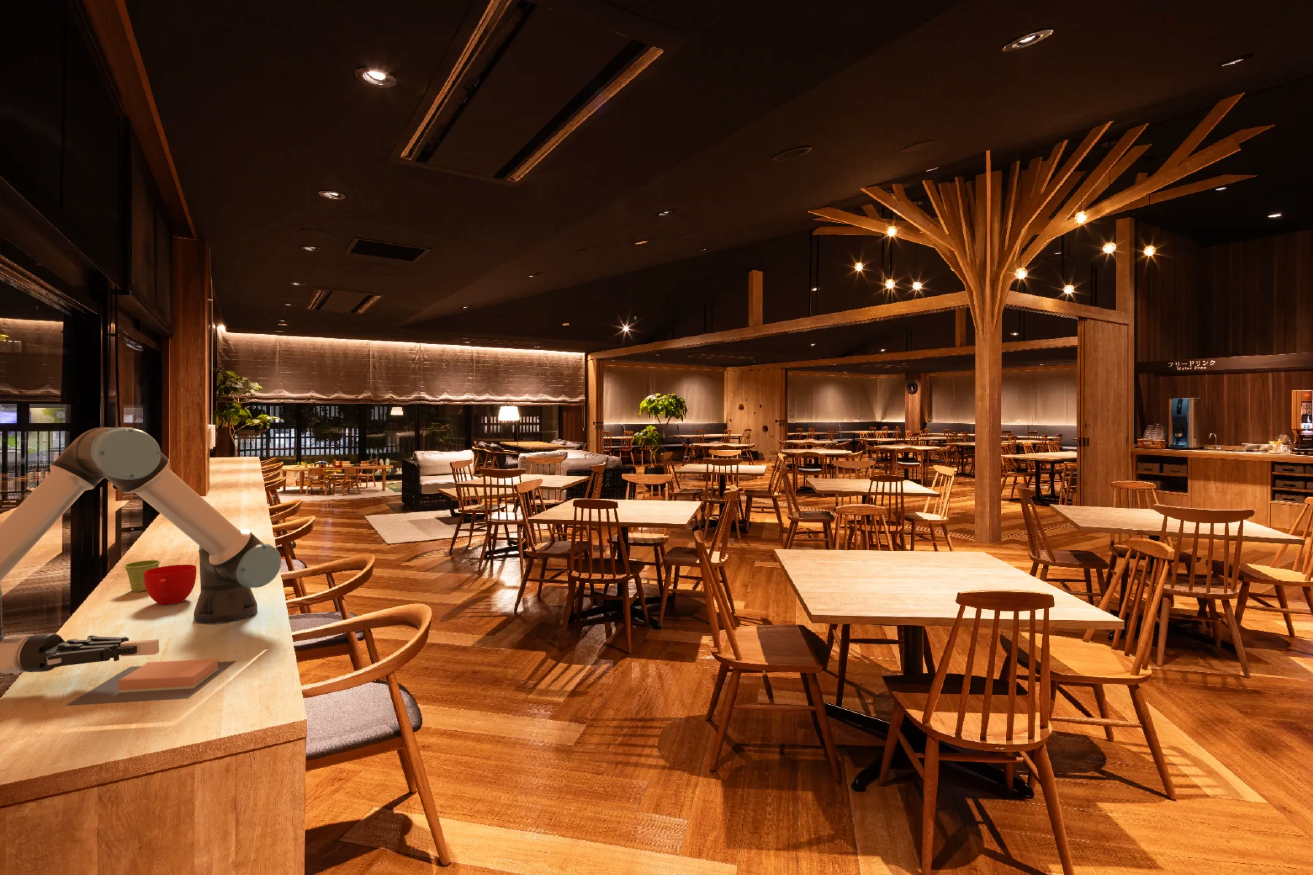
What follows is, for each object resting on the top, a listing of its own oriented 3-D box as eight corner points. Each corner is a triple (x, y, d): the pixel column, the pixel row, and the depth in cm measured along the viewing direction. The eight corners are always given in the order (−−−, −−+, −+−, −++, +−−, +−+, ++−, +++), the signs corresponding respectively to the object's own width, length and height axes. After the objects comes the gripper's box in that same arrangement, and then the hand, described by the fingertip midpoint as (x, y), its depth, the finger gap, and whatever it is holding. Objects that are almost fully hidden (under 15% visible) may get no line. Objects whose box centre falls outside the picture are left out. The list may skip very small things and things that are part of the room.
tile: (118, 680, 136) (193, 676, 138) (148, 662, 146) (217, 658, 148) (118, 692, 136) (193, 688, 138) (148, 673, 146) (218, 669, 148)
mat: (65, 708, 130) (65, 705, 130) (130, 669, 150) (130, 666, 150) (188, 701, 133) (188, 698, 133) (236, 663, 153) (236, 660, 153)
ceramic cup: (134, 614, 191) (133, 579, 190) (151, 598, 206) (150, 566, 206) (188, 608, 196) (187, 574, 196) (201, 594, 212) (200, 562, 211)
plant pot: (146, 593, 212) (145, 566, 212) (117, 593, 213) (116, 566, 212) (168, 585, 222) (167, 559, 221) (140, 585, 222) (139, 559, 222)
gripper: (55, 659, 145) (174, 653, 148) (6, 683, 132) (138, 676, 135) (54, 625, 144) (173, 619, 148) (4, 646, 131) (136, 639, 135)
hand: (156, 646), depth 141 cm, fingers closed
